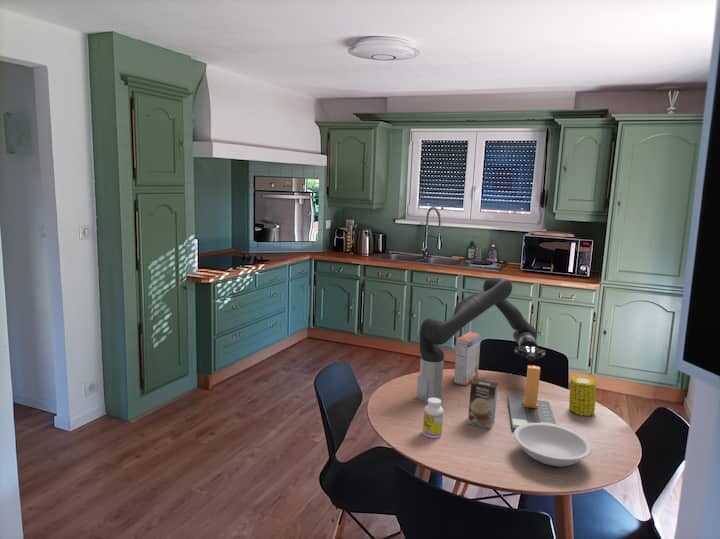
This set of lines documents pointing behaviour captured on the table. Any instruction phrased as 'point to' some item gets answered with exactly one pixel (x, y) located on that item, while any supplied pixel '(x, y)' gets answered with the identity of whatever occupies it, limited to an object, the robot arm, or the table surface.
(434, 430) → the supplement bottle
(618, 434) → the table surface
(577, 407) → the food
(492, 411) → the coffee box
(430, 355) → the robot arm
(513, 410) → the fader board
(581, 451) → the soup bowl
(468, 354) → the cracker box
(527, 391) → the block
